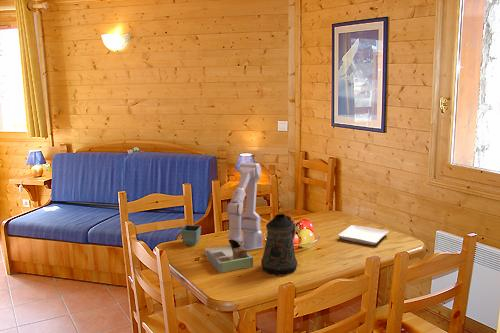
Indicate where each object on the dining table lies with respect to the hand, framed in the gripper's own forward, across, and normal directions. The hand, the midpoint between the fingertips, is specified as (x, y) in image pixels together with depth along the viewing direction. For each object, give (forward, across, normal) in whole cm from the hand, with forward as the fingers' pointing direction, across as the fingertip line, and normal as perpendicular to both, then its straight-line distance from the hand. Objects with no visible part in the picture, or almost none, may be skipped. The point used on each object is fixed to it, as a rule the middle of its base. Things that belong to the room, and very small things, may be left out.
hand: (235, 254), depth 232 cm
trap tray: (+3, -4, -4) cm, 6 cm away
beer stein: (+4, +15, +16) cm, 22 cm away
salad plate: (+4, 0, +74) cm, 74 cm away
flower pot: (+4, -32, -12) cm, 34 cm away
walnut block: (+1, +4, 0) cm, 4 cm away
